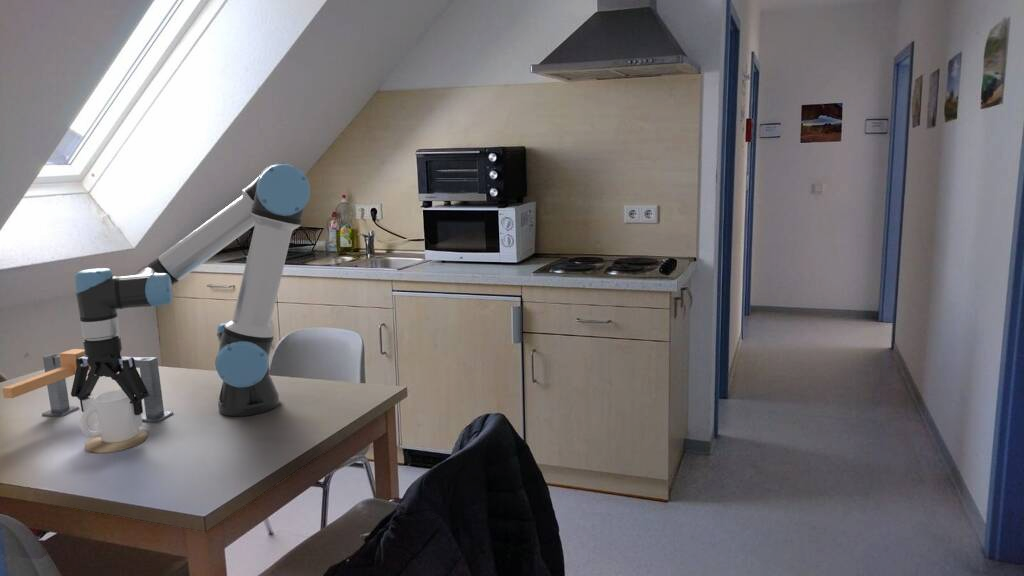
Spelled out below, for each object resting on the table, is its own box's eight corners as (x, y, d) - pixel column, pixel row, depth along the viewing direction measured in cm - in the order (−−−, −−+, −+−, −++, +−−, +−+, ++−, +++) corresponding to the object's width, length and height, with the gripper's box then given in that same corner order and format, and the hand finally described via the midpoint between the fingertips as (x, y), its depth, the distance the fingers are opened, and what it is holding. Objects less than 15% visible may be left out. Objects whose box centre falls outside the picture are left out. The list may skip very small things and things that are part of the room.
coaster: (159, 433, 182) (158, 430, 182) (119, 454, 170) (119, 452, 170) (113, 430, 185) (112, 427, 185) (71, 451, 173) (71, 448, 173)
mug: (89, 452, 171) (81, 409, 168) (78, 442, 176) (71, 400, 174) (144, 435, 179) (138, 394, 176) (132, 426, 184) (126, 386, 182)
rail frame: (173, 414, 195) (166, 356, 192) (157, 422, 190) (150, 362, 187) (60, 407, 204) (52, 352, 201) (42, 415, 198) (33, 358, 195)
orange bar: (92, 369, 198) (89, 349, 197) (16, 398, 176) (13, 375, 175) (76, 369, 199) (73, 348, 198) (-1, 397, 177) (-5, 375, 176)
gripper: (158, 333, 174) (169, 423, 178) (70, 331, 179) (83, 418, 183) (135, 342, 166) (147, 435, 170) (44, 339, 172) (58, 429, 176)
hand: (114, 426), depth 177 cm, fingers open, 12 cm apart
